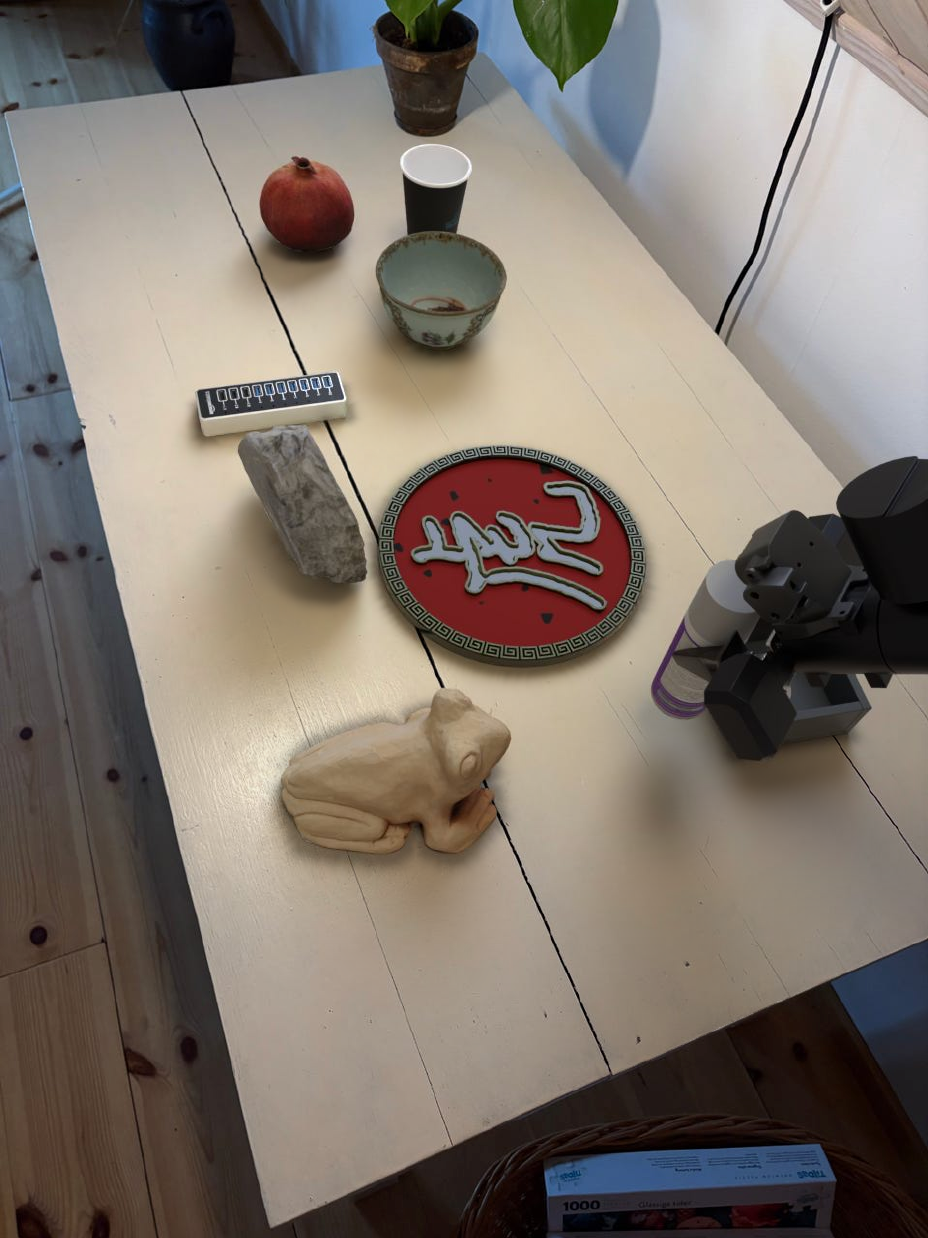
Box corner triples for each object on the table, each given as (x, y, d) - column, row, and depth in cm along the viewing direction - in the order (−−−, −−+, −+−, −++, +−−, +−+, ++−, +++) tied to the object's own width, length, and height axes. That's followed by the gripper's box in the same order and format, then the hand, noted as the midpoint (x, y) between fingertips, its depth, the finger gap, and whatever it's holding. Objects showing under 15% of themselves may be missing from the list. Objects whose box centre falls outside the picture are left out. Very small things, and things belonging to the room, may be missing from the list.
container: (674, 658, 78) (731, 546, 65) (719, 696, 76) (786, 588, 63) (638, 692, 76) (689, 583, 63) (684, 731, 74) (746, 627, 61)
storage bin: (799, 630, 86) (820, 601, 83) (848, 733, 81) (872, 708, 77) (692, 645, 85) (708, 617, 81) (735, 752, 79) (753, 727, 75)
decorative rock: (373, 595, 85) (373, 484, 72) (304, 622, 82) (292, 512, 70) (302, 470, 92) (292, 349, 79) (237, 491, 90) (215, 370, 77)
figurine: (510, 848, 73) (529, 798, 64) (283, 870, 70) (272, 821, 62) (488, 706, 79) (502, 644, 71) (280, 722, 77) (269, 659, 69)
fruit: (251, 258, 109) (241, 176, 100) (279, 209, 114) (272, 128, 106) (340, 277, 108) (338, 197, 100) (364, 227, 114) (364, 147, 105)
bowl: (495, 295, 109) (503, 233, 102) (501, 376, 101) (510, 316, 95) (376, 289, 108) (377, 226, 101) (373, 371, 100) (374, 309, 94)
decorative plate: (671, 654, 82) (384, 664, 79) (667, 661, 83) (384, 671, 80) (620, 443, 96) (373, 445, 93) (617, 451, 97) (373, 453, 94)
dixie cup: (393, 231, 114) (395, 143, 104) (458, 229, 115) (465, 142, 106) (401, 273, 109) (404, 185, 100) (468, 271, 111) (477, 184, 102)
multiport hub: (347, 417, 96) (347, 400, 94) (203, 437, 93) (199, 420, 91) (339, 387, 99) (338, 370, 97) (197, 405, 95) (194, 388, 93)
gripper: (902, 432, 59) (696, 472, 71) (788, 634, 50) (574, 641, 62) (959, 568, 64) (757, 583, 76) (865, 776, 54) (651, 756, 66)
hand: (689, 634), depth 70 cm, fingers closed on container, 5 cm apart
